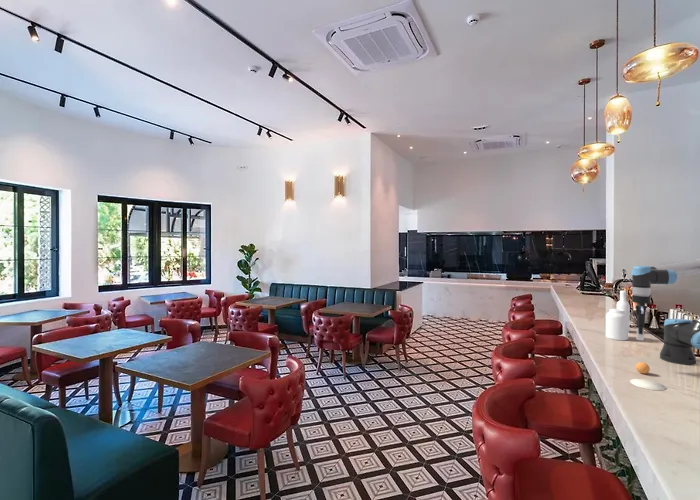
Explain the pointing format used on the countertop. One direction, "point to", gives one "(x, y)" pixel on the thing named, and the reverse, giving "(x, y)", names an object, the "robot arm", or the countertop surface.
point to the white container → (617, 324)
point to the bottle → (624, 305)
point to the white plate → (647, 384)
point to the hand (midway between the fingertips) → (640, 339)
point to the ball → (642, 368)
